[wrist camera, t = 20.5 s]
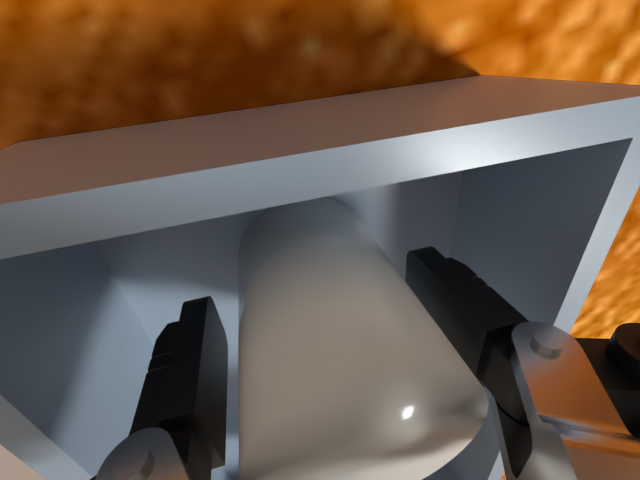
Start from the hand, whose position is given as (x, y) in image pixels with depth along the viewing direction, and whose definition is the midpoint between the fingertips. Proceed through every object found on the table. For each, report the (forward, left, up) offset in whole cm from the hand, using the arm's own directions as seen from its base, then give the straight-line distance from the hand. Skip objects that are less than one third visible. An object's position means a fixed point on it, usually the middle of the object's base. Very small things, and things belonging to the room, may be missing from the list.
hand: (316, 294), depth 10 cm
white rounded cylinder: (0, 0, -2) cm, 2 cm away
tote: (+6, 0, -3) cm, 6 cm away
